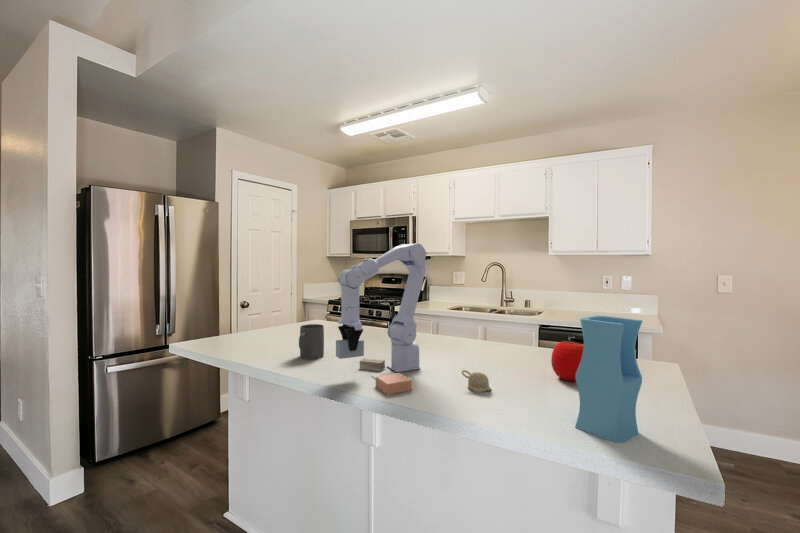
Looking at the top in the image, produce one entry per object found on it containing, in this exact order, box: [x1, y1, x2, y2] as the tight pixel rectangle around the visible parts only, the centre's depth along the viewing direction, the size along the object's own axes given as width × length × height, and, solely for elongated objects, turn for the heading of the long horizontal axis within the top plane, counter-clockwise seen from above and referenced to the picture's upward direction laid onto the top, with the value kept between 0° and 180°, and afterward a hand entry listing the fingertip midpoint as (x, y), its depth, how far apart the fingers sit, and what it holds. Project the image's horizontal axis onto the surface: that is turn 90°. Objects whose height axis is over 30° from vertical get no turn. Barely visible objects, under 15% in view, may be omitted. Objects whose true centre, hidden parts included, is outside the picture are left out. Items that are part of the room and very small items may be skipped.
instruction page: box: [370, 371, 395, 380], centre depth 124 cm, size 8×6×1 cm
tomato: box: [550, 339, 584, 382], centre depth 121 cm, size 12×12×13 cm
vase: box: [574, 315, 643, 444], centre depth 85 cm, size 10×10×25 cm
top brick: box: [335, 338, 365, 360], centre depth 122 cm, size 8×4×5 cm, turn 118°
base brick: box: [375, 372, 413, 395], centre depth 112 cm, size 8×8×3 cm
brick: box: [359, 358, 386, 372], centre depth 133 cm, size 4×8×3 cm, turn 74°
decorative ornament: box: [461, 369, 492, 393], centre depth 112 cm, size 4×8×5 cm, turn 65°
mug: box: [298, 323, 325, 360], centre depth 147 cm, size 14×9×12 cm
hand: (350, 349), depth 122 cm, fingers closed on top brick, 4 cm apart
